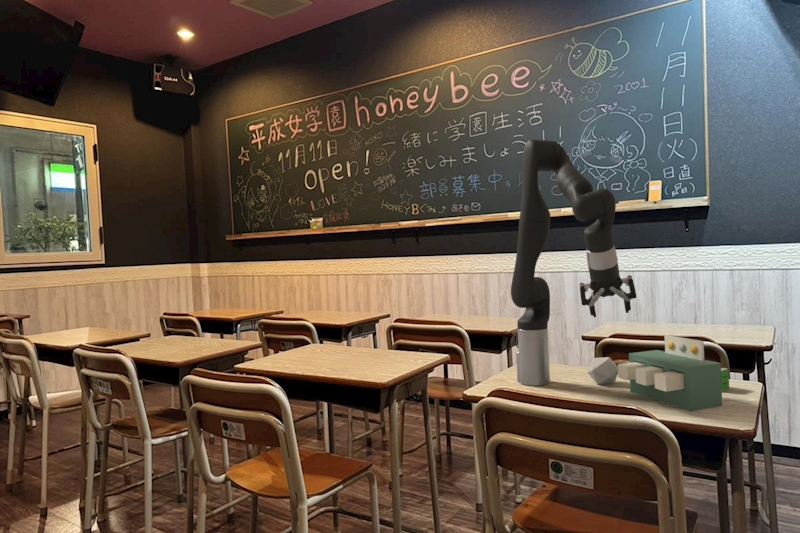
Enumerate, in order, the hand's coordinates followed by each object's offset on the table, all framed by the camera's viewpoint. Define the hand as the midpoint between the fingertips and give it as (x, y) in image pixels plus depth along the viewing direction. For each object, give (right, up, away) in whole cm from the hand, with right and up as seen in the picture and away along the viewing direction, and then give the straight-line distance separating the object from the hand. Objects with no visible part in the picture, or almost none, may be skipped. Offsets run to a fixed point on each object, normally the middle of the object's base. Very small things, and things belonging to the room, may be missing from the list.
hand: (610, 313), depth 156 cm
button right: (+10, -18, -13) cm, 25 cm away
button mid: (+8, -18, -7) cm, 21 cm away
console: (+15, -23, -4) cm, 28 cm away
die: (+4, -23, +16) cm, 28 cm away
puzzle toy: (+31, -22, +4) cm, 38 cm away
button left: (+6, -18, 0) cm, 19 cm away
